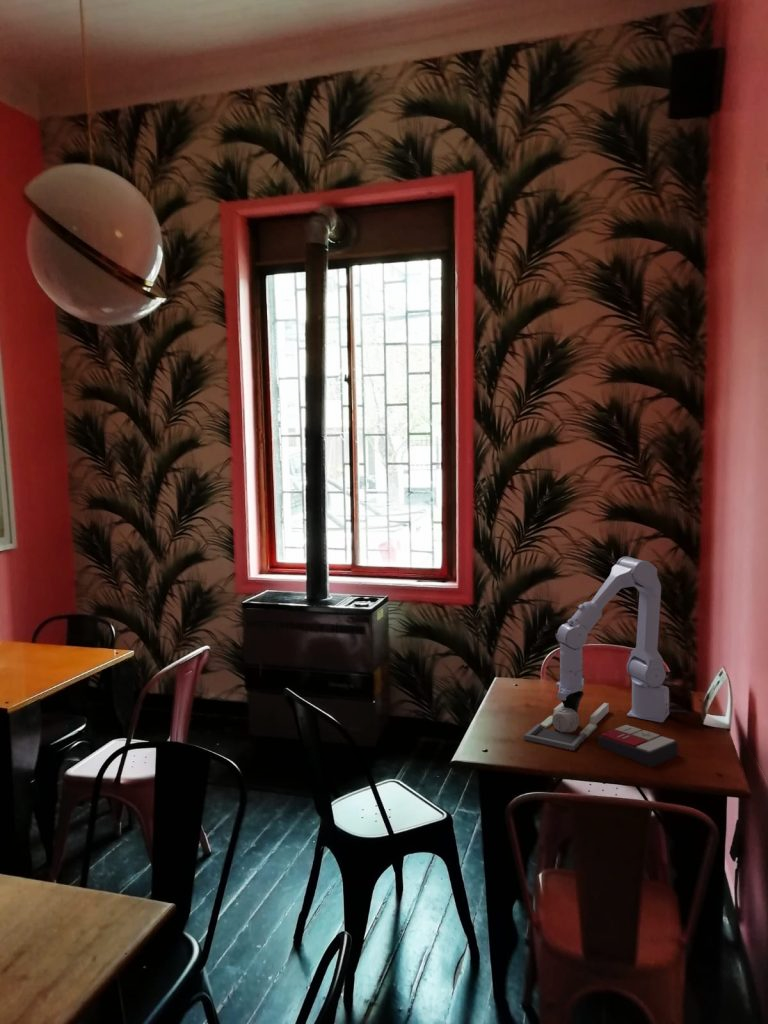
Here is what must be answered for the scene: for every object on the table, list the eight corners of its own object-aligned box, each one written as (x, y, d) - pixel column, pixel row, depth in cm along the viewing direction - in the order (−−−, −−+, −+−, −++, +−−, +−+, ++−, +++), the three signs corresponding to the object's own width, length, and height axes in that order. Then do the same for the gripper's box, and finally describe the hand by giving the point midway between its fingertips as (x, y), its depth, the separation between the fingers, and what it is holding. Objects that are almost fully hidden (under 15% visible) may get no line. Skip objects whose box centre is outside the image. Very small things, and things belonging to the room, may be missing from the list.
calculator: (625, 722, 183) (678, 738, 171) (626, 739, 183) (678, 756, 171) (597, 733, 177) (650, 750, 165) (598, 750, 177) (650, 768, 165)
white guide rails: (608, 711, 200) (608, 703, 199) (594, 725, 190) (594, 717, 190) (569, 704, 206) (569, 696, 206) (553, 717, 196) (553, 709, 196)
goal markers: (596, 727, 189) (596, 724, 189) (587, 736, 183) (587, 734, 183) (550, 717, 196) (550, 715, 196) (539, 726, 190) (539, 724, 190)
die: (552, 729, 188) (551, 710, 188) (562, 723, 192) (562, 706, 191) (568, 734, 185) (568, 715, 184) (579, 729, 188) (579, 710, 188)
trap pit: (586, 738, 182) (586, 733, 182) (573, 750, 175) (573, 746, 175) (538, 727, 189) (538, 723, 189) (524, 739, 182) (524, 735, 182)
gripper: (566, 659, 198) (566, 707, 200) (546, 674, 187) (546, 724, 188) (591, 663, 194) (591, 711, 196) (572, 678, 183) (572, 729, 184)
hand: (571, 718), depth 191 cm, fingers closed
